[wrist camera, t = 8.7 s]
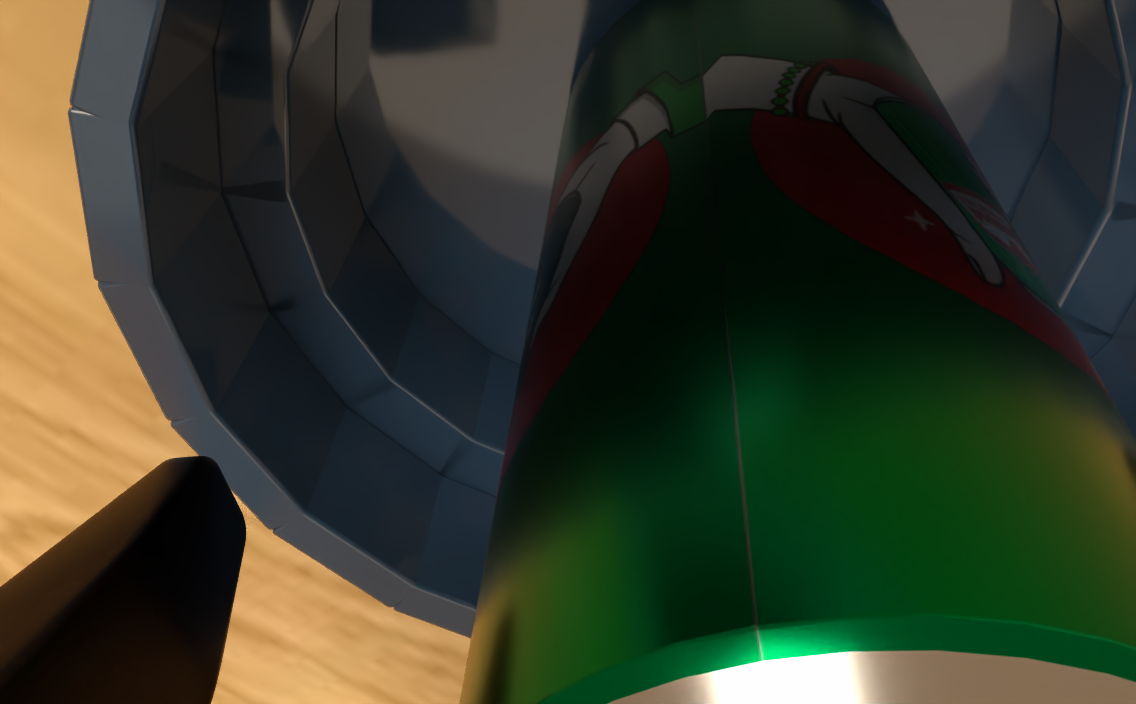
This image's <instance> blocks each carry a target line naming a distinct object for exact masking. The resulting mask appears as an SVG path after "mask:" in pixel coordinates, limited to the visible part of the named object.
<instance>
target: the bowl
mask: <svg viewBox="0 0 1136 704" xmlns="http://www.w3.org/2000/svg"><path fill="white" fill-rule="evenodd" d="M640 1H641V0H90V1H89V6H88V10H87V15H86V20H85V25H84V30H83V35H82V40H81V45H80V50H79V55H78V60H77V65H76V70H75V75H74V80H73V85H72V89H71V94H70V105H71V107H70V108H69V111H68V116H69V123H70V129H71V135H72V142H73V148H74V154H75V161H76V167H77V173H78V180H79V186H80V192H81V199H82V205H83V211H84V218H85V224H86V230H87V236H88V243H89V249H90V255H91V262H92V268H93V274H94V278H95V280H97V281H98V287H99V289H100V291H101V293H102V295H103V297H104V299H105V301H106V303H107V305H108V307H109V309H110V311H111V313H112V315H113V317H114V318H115V320H116V322H117V324H118V326H119V328H120V330H121V332H122V334H123V336H124V338H125V340H126V342H127V344H128V346H129V348H130V349H131V351H132V353H133V355H134V357H135V359H136V361H137V363H138V365H139V367H140V369H141V371H142V373H143V375H144V377H145V379H146V380H147V382H148V384H149V386H150V388H151V390H152V392H153V394H154V396H155V398H156V400H157V402H158V404H159V406H160V408H161V410H162V411H163V413H164V415H165V417H166V419H168V420H169V421H171V426H172V428H173V429H174V430H175V431H176V432H177V433H178V434H179V435H180V436H181V437H182V438H183V439H184V441H185V442H186V443H187V444H188V445H189V446H190V447H191V448H192V449H193V450H194V451H195V452H196V453H197V454H198V455H199V456H207V457H210V458H212V459H213V460H214V461H215V462H216V463H217V464H218V466H219V467H220V469H221V471H222V473H223V475H224V477H225V479H226V481H227V483H228V485H229V487H230V489H231V490H232V491H233V492H234V494H235V495H236V496H237V497H238V498H239V499H240V500H241V501H242V502H243V503H244V504H245V505H246V506H247V507H248V508H249V509H250V510H251V512H252V513H253V514H254V515H255V516H256V517H257V518H258V519H259V520H260V521H261V522H262V523H263V524H264V525H265V526H266V527H267V528H268V529H270V530H273V533H274V534H275V535H276V536H278V537H279V538H281V539H283V540H284V541H286V542H287V543H289V544H290V545H292V546H294V547H295V548H297V549H298V550H300V551H301V552H303V553H304V554H306V555H308V556H309V557H311V558H312V559H314V560H315V561H317V562H318V563H320V564H322V565H323V566H325V567H326V568H328V569H329V570H331V571H333V572H334V573H336V574H337V575H339V576H340V577H342V578H343V579H345V580H347V581H348V582H350V583H351V584H353V585H354V586H356V587H358V588H359V589H361V590H362V591H364V592H365V593H367V594H368V595H370V596H372V597H373V598H375V599H376V600H378V601H379V602H381V603H382V604H384V605H386V606H387V607H394V610H395V611H397V612H400V613H403V614H406V615H408V616H411V617H414V618H416V619H419V620H422V621H425V622H427V623H430V624H433V625H436V626H438V627H441V628H444V629H446V630H449V631H452V632H455V633H457V634H460V635H463V636H466V637H468V638H471V636H472V631H473V625H474V620H475V614H476V609H477V603H478V597H479V592H480V586H481V581H482V575H483V570H484V564H485V558H486V553H487V547H488V542H489V536H490V531H491V525H492V519H493V514H494V508H495V503H496V497H497V492H498V486H499V480H500V475H501V469H502V464H503V458H504V453H505V447H506V441H507V436H508V430H509V425H510V419H511V414H512V408H513V402H514V397H515V391H516V386H517V380H518V375H519V369H520V364H521V358H522V352H523V347H524V341H525V336H526V330H527V325H528V319H529V313H530V308H531V302H532V297H533V291H534V286H535V280H536V274H537V269H538V263H539V258H540V252H541V247H542V241H543V235H544V230H545V224H546V219H547V213H548V208H549V202H550V196H551V191H552V185H553V180H554V174H555V169H556V163H557V157H558V152H559V146H560V141H561V135H562V130H563V124H564V119H565V115H566V110H567V105H568V101H569V96H570V94H571V91H572V89H573V86H574V84H575V81H576V79H577V76H578V74H579V71H580V69H581V68H582V66H583V64H584V63H585V61H586V59H587V58H588V56H589V54H590V53H591V51H592V49H593V48H594V46H595V45H596V44H597V43H598V41H599V40H600V39H601V38H602V37H603V35H604V34H605V33H606V32H607V31H608V30H609V28H610V27H611V26H612V25H613V24H614V23H615V22H616V21H617V20H618V19H619V18H620V17H622V16H623V15H624V14H625V13H626V12H627V11H629V10H630V9H631V8H632V7H633V6H634V5H635V4H637V3H638V2H640ZM870 1H872V2H873V3H874V4H875V5H876V6H877V7H878V8H879V9H880V10H881V11H882V12H883V13H884V14H885V15H886V16H887V17H888V18H889V19H890V20H892V22H893V23H894V25H895V26H896V27H897V29H898V30H899V31H900V33H901V34H902V36H903V37H904V38H905V40H906V41H907V43H908V44H909V46H910V47H911V49H912V51H913V53H914V54H915V56H916V58H917V60H918V61H919V63H920V65H921V67H922V68H923V70H924V72H925V74H926V75H927V77H928V79H929V81H930V82H931V84H932V86H933V88H934V89H935V91H936V93H937V95H938V96H939V98H940V100H941V101H942V103H943V105H944V107H945V108H946V110H947V112H948V114H949V115H950V117H951V119H952V121H953V122H954V124H955V126H956V128H957V129H958V131H959V133H960V135H961V136H962V138H963V140H964V142H965V143H966V145H967V147H968V149H969V150H970V152H971V154H972V156H973V157H974V159H975V161H976V162H977V164H978V166H979V168H980V169H981V171H982V173H983V175H984V176H985V178H986V180H987V182H988V183H989V185H990V187H991V189H992V190H993V192H994V194H995V196H996V197H997V199H998V201H999V203H1000V204H1001V206H1002V208H1003V210H1004V211H1005V213H1006V215H1007V217H1008V218H1009V220H1010V222H1011V223H1012V225H1013V227H1014V229H1015V230H1016V232H1017V234H1018V236H1019V237H1020V239H1021V241H1022V243H1023V244H1024V246H1025V248H1026V250H1027V251H1028V253H1029V255H1030V257H1031V258H1032V260H1033V262H1034V264H1035V265H1036V267H1037V269H1038V271H1039V272H1040V274H1041V276H1042V278H1043V279H1044V281H1045V283H1046V284H1047V286H1048V288H1049V290H1050V291H1051V293H1052V295H1053V297H1054V298H1055V300H1056V302H1057V304H1058V305H1059V307H1060V309H1061V311H1062V312H1063V314H1064V316H1065V318H1066V319H1067V321H1068V323H1069V325H1070V326H1071V328H1072V330H1073V332H1074V333H1075V335H1076V337H1077V339H1078V340H1079V342H1080V344H1081V345H1082V347H1083V349H1084V351H1085V352H1086V354H1087V356H1088V358H1089V359H1090V361H1091V363H1092V365H1093V366H1094V368H1095V370H1096V372H1097V373H1098V375H1099V377H1100V379H1101V380H1102V382H1103V384H1104V386H1105V387H1106V389H1107V391H1108V393H1109V394H1110V396H1111V398H1112V400H1113V401H1114V403H1115V405H1116V406H1117V408H1118V410H1119V412H1120V413H1121V415H1122V417H1123V419H1124V420H1125V422H1126V424H1127V426H1128V427H1129V429H1130V431H1131V433H1132V434H1133V436H1134V438H1135V440H1136V0H870Z"/></svg>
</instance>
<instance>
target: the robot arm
mask: <svg viewBox="0 0 1136 704" xmlns="http://www.w3.org/2000/svg"><path fill="white" fill-rule="evenodd" d="M245 541H246V525H245V520H244V517H243V514H242V512H241V510H240V508H239V506H238V504H237V502H236V500H235V498H234V496H233V494H232V492H231V489H230V487H229V485H228V483H227V481H226V479H225V477H224V475H223V473H222V471H221V469H220V467H219V466H218V464H217V463H216V462H215V461H214V460H213V459H212V458H210V457H207V456H193V457H181V458H173V459H169V460H166V461H164V462H163V463H161V464H160V465H159V466H157V467H156V468H155V469H154V470H152V471H151V472H150V473H148V474H147V475H146V476H144V477H143V478H142V479H141V480H139V481H138V482H137V483H135V484H134V485H133V486H131V487H130V488H129V489H127V490H126V491H125V492H124V493H122V494H121V495H120V496H118V497H117V498H116V499H114V500H113V501H112V502H111V503H109V504H108V505H107V506H105V507H104V508H103V509H101V510H100V511H99V512H98V513H96V514H95V515H94V516H92V517H91V518H90V519H88V520H87V521H86V522H84V523H83V524H82V525H81V526H79V527H78V528H77V529H75V530H74V531H73V532H71V533H70V534H69V535H68V536H66V537H65V538H64V539H62V540H61V541H60V542H58V543H57V544H56V545H54V546H53V547H52V548H51V549H49V550H48V551H47V552H45V553H44V554H43V555H41V556H40V557H39V558H38V559H36V560H35V561H34V562H32V563H31V564H30V565H28V566H27V567H26V568H25V569H23V570H22V571H21V572H19V573H18V574H17V575H15V576H14V577H13V578H11V579H10V580H9V581H8V582H6V583H5V584H4V585H2V586H1V587H0V704H211V701H212V698H213V694H214V691H215V687H216V684H217V680H218V675H219V671H220V667H221V663H222V658H223V653H224V648H225V643H226V638H227V633H228V628H229V623H230V618H231V613H232V607H233V602H234V597H235V592H236V587H237V582H238V577H239V572H240V567H241V562H242V557H243V552H244V547H245Z"/></svg>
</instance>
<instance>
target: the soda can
mask: <svg viewBox="0 0 1136 704" xmlns="http://www.w3.org/2000/svg"><path fill="white" fill-rule="evenodd" d="M459 704H1136V440H1135V438H1134V436H1133V434H1132V433H1131V431H1130V429H1129V427H1128V426H1127V424H1126V422H1125V420H1124V419H1123V417H1122V415H1121V413H1120V412H1119V410H1118V408H1117V406H1116V405H1115V403H1114V401H1113V400H1112V398H1111V396H1110V394H1109V393H1108V391H1107V389H1106V387H1105V386H1104V384H1103V382H1102V380H1101V379H1100V377H1099V375H1098V373H1097V372H1096V370H1095V368H1094V366H1093V365H1092V363H1091V361H1090V359H1089V358H1088V356H1087V354H1086V352H1085V351H1084V349H1083V347H1082V345H1081V344H1080V342H1079V340H1078V339H1077V337H1076V335H1075V333H1074V332H1073V330H1072V328H1071V326H1070V325H1069V323H1068V321H1067V319H1066V318H1065V316H1064V314H1063V312H1062V311H1061V309H1060V307H1059V305H1058V304H1057V302H1056V300H1055V298H1054V297H1053V295H1052V293H1051V291H1050V290H1049V288H1048V286H1047V284H1046V283H1045V281H1044V279H1043V278H1042V276H1041V274H1040V272H1039V271H1038V269H1037V267H1036V265H1035V264H1034V262H1033V260H1032V258H1031V257H1030V255H1029V253H1028V251H1027V250H1026V248H1025V246H1024V244H1023V243H1022V241H1021V239H1020V237H1019V236H1018V234H1017V232H1016V230H1015V229H1014V227H1013V225H1012V223H1011V222H1010V220H1009V218H1008V217H1007V215H1006V213H1005V211H1004V210H1003V208H1002V206H1001V204H1000V203H999V201H998V199H997V197H996V196H995V194H994V192H993V190H992V189H991V187H990V185H989V183H988V182H987V180H986V178H985V176H984V175H983V173H982V171H981V169H980V168H979V166H978V164H977V162H976V161H975V159H974V157H973V156H972V154H971V152H970V150H969V149H968V147H967V145H966V143H965V142H964V140H963V138H962V136H961V135H960V133H959V131H958V129H957V128H956V126H955V124H954V122H953V121H952V119H951V117H950V115H949V114H948V112H947V110H946V108H945V107H944V105H943V103H942V101H941V100H940V98H939V96H938V95H937V93H936V91H935V89H934V88H933V86H932V84H931V82H930V81H929V79H928V77H927V75H926V74H925V72H924V70H923V68H922V67H921V65H920V63H919V61H918V60H917V58H916V56H915V54H914V53H913V51H912V49H911V47H910V46H909V44H908V43H907V41H906V40H905V38H904V37H903V36H902V34H901V33H900V31H899V30H898V29H897V27H896V26H895V25H894V23H893V22H892V20H890V19H889V18H888V17H887V16H886V15H885V14H884V13H883V12H882V11H881V10H880V9H879V8H878V7H877V6H876V5H875V4H874V3H873V2H872V1H870V0H641V1H640V2H638V3H637V4H635V5H634V6H633V7H632V8H631V9H630V10H629V11H627V12H626V13H625V14H624V15H623V16H622V17H620V18H619V19H618V20H617V21H616V22H615V23H614V24H613V25H612V26H611V27H610V28H609V30H608V31H607V32H606V33H605V34H604V35H603V37H602V38H601V39H600V40H599V41H598V43H597V44H596V45H595V46H594V48H593V49H592V51H591V53H590V54H589V56H588V58H587V59H586V61H585V63H584V64H583V66H582V68H581V69H580V71H579V74H578V76H577V79H576V81H575V84H574V86H573V89H572V91H571V94H570V96H569V101H568V105H567V110H566V115H565V119H564V124H563V130H562V135H561V141H560V146H559V152H558V157H557V163H556V169H555V174H554V180H553V185H552V191H551V196H550V202H549V208H548V213H547V219H546V224H545V230H544V235H543V241H542V247H541V252H540V258H539V263H538V269H537V274H536V280H535V286H534V291H533V297H532V302H531V308H530V313H529V319H528V325H527V330H526V336H525V341H524V347H523V352H522V358H521V364H520V369H519V375H518V380H517V386H516V391H515V397H514V402H513V408H512V414H511V419H510V425H509V430H508V436H507V441H506V447H505V453H504V458H503V464H502V469H501V475H500V480H499V486H498V492H497V497H496V503H495V508H494V514H493V519H492V525H491V531H490V536H489V542H488V547H487V553H486V558H485V564H484V570H483V575H482V581H481V586H480V592H479V597H478V603H477V609H476V614H475V620H474V625H473V631H472V636H471V642H470V648H469V653H468V659H467V664H466V670H465V675H464V681H463V686H462V692H461V698H460V703H459Z"/></svg>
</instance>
